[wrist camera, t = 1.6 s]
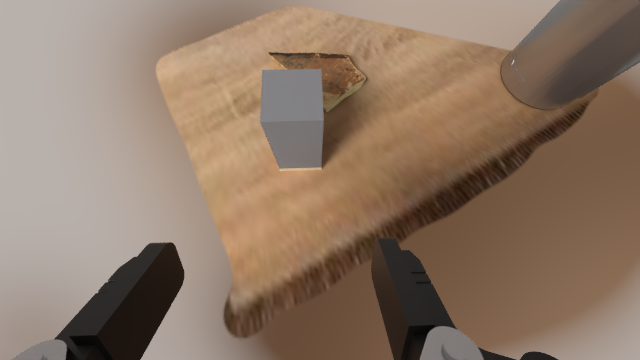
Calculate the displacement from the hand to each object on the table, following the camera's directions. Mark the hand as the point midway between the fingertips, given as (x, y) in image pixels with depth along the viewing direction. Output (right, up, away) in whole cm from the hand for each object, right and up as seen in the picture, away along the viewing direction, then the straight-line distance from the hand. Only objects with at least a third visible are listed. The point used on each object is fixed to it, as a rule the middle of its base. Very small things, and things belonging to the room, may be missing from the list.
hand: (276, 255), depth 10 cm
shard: (+1, +15, +21) cm, 26 cm away
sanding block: (0, +6, +18) cm, 19 cm away
